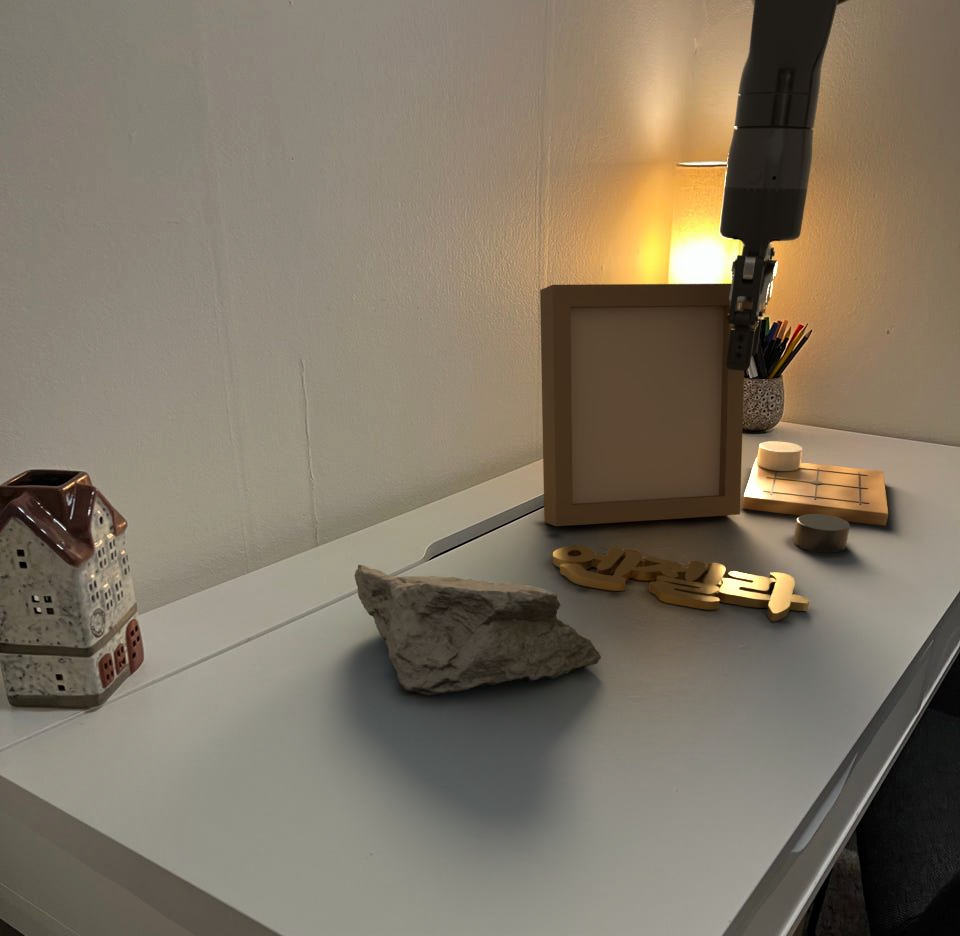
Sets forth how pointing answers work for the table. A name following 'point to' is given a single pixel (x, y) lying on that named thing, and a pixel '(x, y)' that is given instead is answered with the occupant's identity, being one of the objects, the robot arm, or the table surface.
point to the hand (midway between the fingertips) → (741, 362)
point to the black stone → (821, 533)
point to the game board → (819, 492)
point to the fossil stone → (469, 631)
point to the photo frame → (639, 403)
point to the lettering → (680, 580)
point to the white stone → (779, 456)
